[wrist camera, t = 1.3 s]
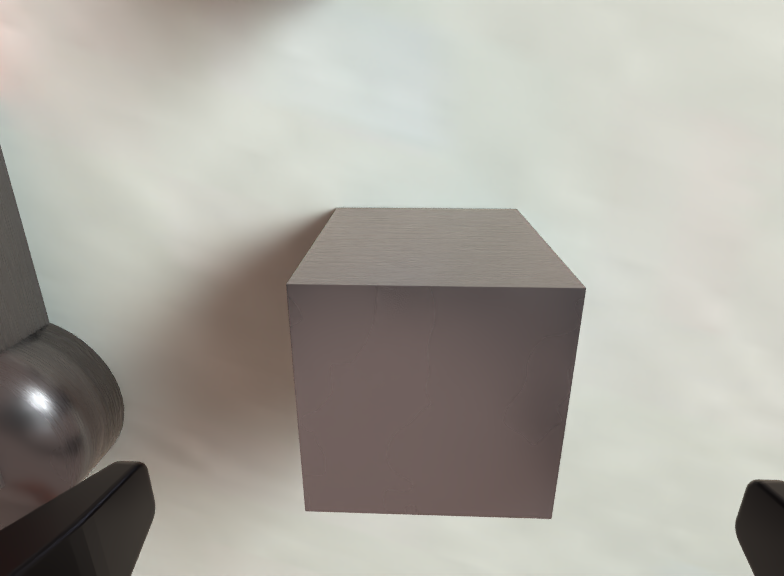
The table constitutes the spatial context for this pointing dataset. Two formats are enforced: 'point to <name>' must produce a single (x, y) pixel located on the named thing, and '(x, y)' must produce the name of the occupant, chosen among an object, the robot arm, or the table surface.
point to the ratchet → (44, 385)
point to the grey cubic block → (432, 363)
